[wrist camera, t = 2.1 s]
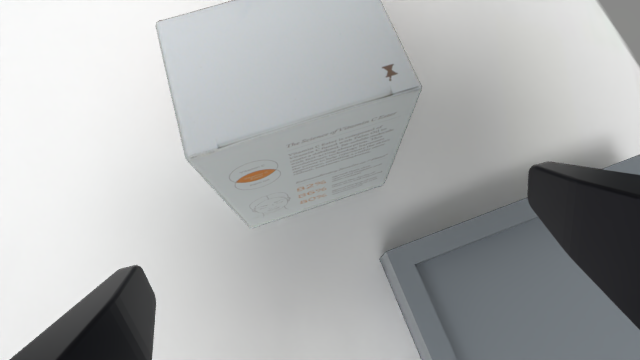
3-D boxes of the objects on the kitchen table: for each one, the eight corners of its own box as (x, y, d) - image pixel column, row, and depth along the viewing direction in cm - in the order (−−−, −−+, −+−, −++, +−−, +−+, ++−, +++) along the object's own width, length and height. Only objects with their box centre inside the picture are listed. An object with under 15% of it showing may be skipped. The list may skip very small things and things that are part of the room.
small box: (352, 104, 25) (368, -43, 15) (385, 187, 23) (430, 84, 13) (223, 142, 24) (149, 16, 14) (248, 232, 22) (181, 159, 12)
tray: (511, 573, 17) (540, 614, 15) (379, 259, 21) (386, 251, 19) (786, 441, 18) (853, 459, 16) (609, 171, 23) (641, 153, 20)
